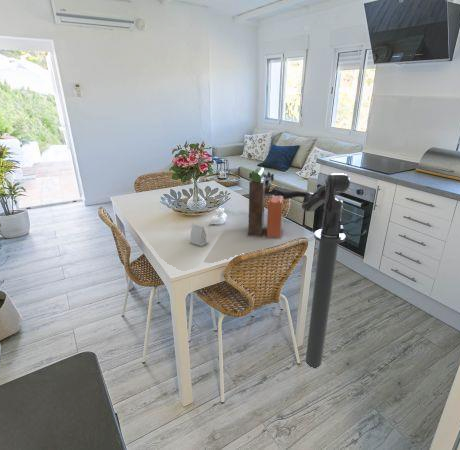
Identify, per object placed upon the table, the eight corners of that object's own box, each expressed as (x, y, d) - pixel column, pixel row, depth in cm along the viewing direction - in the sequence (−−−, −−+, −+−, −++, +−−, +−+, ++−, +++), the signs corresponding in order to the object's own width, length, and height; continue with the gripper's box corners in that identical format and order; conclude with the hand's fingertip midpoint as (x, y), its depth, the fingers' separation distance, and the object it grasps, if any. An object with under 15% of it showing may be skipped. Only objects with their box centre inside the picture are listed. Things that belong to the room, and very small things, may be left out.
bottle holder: (280, 230, 179) (283, 195, 171) (279, 238, 168) (282, 201, 160) (268, 229, 180) (270, 194, 172) (266, 237, 169) (268, 200, 161)
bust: (211, 230, 182) (219, 219, 174) (204, 220, 184) (211, 208, 176) (226, 224, 190) (234, 213, 182) (220, 214, 192) (227, 203, 184)
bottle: (265, 173, 177) (265, 165, 175) (260, 182, 157) (260, 172, 156) (257, 173, 177) (257, 165, 176) (251, 181, 158) (251, 172, 156)
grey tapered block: (201, 246, 157) (200, 228, 153) (191, 243, 161) (190, 225, 157) (206, 243, 160) (205, 225, 156) (196, 240, 163) (195, 222, 159)
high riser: (263, 228, 180) (265, 176, 168) (261, 237, 169) (263, 181, 157) (251, 227, 181) (252, 175, 169) (248, 236, 170) (249, 180, 158)
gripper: (251, 174, 194) (248, 166, 178) (275, 175, 192) (274, 167, 176) (250, 186, 193) (247, 178, 177) (274, 187, 191) (272, 180, 175)
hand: (260, 173), depth 177 cm, fingers open, 8 cm apart
